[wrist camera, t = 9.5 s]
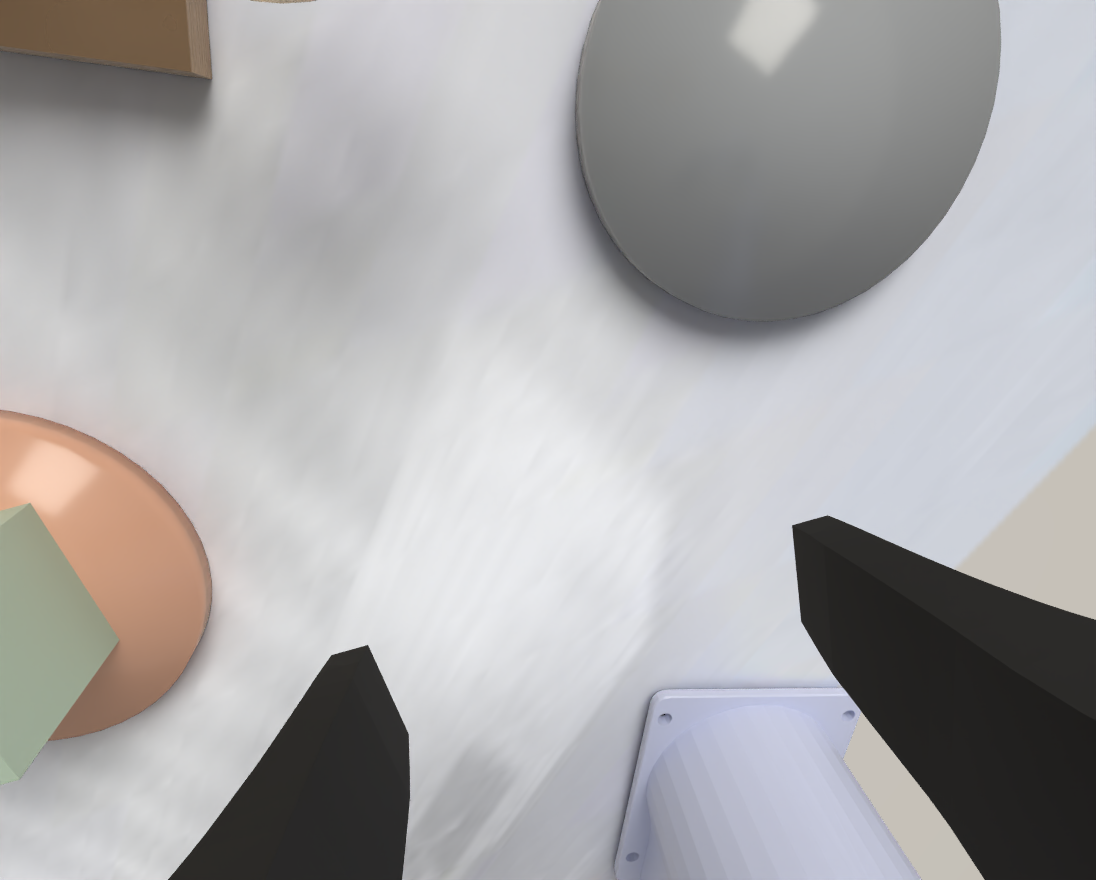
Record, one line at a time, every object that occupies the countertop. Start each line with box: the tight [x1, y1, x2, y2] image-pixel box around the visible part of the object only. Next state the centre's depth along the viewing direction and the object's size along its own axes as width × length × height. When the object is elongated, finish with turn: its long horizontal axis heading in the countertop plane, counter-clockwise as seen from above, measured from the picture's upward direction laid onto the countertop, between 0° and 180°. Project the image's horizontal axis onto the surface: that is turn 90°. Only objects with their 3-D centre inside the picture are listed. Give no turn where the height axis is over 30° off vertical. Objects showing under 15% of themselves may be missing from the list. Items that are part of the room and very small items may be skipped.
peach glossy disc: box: [0, 410, 212, 741], centre depth 17 cm, size 10×10×1 cm
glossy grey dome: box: [575, 0, 1001, 321], centre depth 15 cm, size 10×10×1 cm
